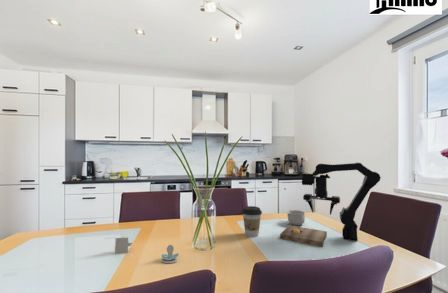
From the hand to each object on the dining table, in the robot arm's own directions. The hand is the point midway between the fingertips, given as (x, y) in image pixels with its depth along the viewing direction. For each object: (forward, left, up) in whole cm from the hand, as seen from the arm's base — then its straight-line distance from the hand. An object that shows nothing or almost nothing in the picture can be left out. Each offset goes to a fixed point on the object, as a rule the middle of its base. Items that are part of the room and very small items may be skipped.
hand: (321, 213), depth 127 cm
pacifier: (+51, +67, -12) cm, 85 cm away
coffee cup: (+34, +20, -12) cm, 41 cm away
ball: (+12, +9, -10) cm, 18 cm away
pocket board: (+8, +9, -12) cm, 17 cm away
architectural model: (+76, +72, -13) cm, 106 cm away
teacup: (+18, -14, -12) cm, 26 cm away
